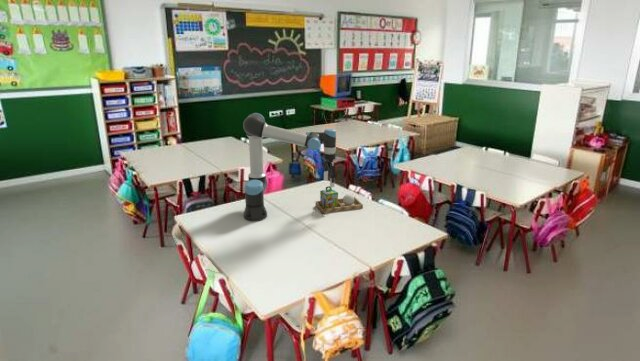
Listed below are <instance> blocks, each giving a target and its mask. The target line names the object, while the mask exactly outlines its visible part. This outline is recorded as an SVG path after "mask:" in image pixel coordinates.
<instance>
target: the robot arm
mask: <svg viewBox="0 0 640 361" xmlns="http://www.w3.org/2000/svg"><path fill="white" fill-rule="evenodd" d="M242 125H243V126H242V127H243V130H244V132H245V133H246V136H247V138H248V145H249V146H248V147H249V149H248V150H249V167H250V168H249V169H250V171H249V173H248V176H247V177H248V181H246V182H245V183H244V197H245V198H244V199H245V207H244V211H243V219H244V220H246V221H250V222H259V221H263V220H265V219H267V217H268V212H267V208H266V207H265V201H264V200H265V199H264V198H265V197H264V194H265V192H266V189H267V188H268V180H267V175H266V173H265V172H264V150H263V149H264V148H263V146H264V145H263V144H264V143H263V138H269V139H272V140H276V141H279V142H283V143H289V144H292V145H296V146H300V147H305V148H308V149H309V150H311V151H318V149H319V148H320V147H321V145H323V159H324V162H323V165H322V170H323V181H324V182H325V181H329V186H330V187H331V188H335V181H336V180H335V179H336V178H337V175H336V173H337V172H336V168H335V167H336V166H335V165H336V164H335V162H334V160H335V159H336V150H337V145H336V144H337V131H336V129H334V128H326V129H324V132H322V131H321V132H320V131H319V132H318V131H317V132H316V131H306V133H301V132H298V131H295V130H290V129H286V128H282V127H278V126H274V125H270V124H268V123H267V122H266V120H265V117H264V116H263V115H262V114H261V113H258V112H253V113H250V114H249V115H248V116H247V117H246V118H244V121H243V124H242ZM329 175H330V176H329Z"/></svg>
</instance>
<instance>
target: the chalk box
mask: <svg viewBox="0 0 640 361" xmlns="http://www.w3.org/2000/svg"><path fill="white" fill-rule="evenodd" d="M332 188H333V187H330V185H328V186H326V187H325V189H322V190H319V191H320V195H319V198H320V199H319V201H320V206H321V207H322V208H324V209H326V208H334V207H338V199H339V192H338V191H336V190H334V189H332Z"/></svg>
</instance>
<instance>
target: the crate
mask: <svg viewBox="0 0 640 361" xmlns="http://www.w3.org/2000/svg"><path fill="white" fill-rule="evenodd" d="M353 197H354V203H353V204H352V205H350V206H347V205H345V204H344V203H343V197H342V198H338V207H334V208H326V209H324V208H322V207H321V206H320V200H317V201H316V200H315V207H316V209H317V210H318V211H319V212H320V214H321V215H326V213H333V212H342V211H351V210H358V209H359V210H360V209H363V208H364V204H363V203H362V202H361V201H360V200H359V199H357V198H356V197H355V196H353Z"/></svg>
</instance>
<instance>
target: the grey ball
mask: <svg viewBox="0 0 640 361" xmlns="http://www.w3.org/2000/svg"><path fill="white" fill-rule="evenodd" d="M354 197H355V196H354V195H352V193H351V194H350V193H347V194H344V196H343V197H342V198H343V203H344V204H345V205H347V206H350V205H352V204H353V203H354Z"/></svg>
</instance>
